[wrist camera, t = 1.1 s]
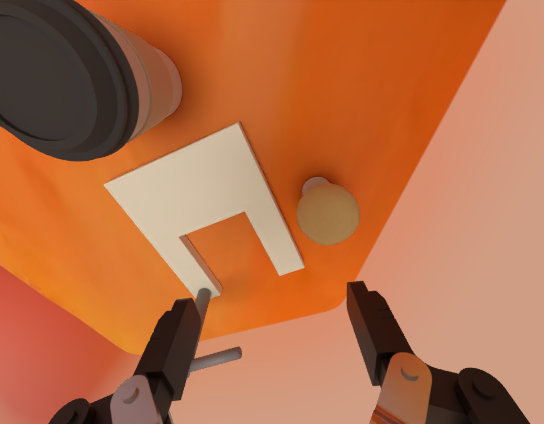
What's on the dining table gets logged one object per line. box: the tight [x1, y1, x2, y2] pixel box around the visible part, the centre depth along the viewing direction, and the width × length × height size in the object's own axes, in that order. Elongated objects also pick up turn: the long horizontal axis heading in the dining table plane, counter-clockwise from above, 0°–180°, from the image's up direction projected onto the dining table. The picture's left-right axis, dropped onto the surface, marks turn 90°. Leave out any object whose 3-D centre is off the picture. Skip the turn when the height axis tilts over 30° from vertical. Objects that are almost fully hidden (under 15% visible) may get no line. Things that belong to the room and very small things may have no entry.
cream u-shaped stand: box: [104, 121, 305, 378], centre depth 28 cm, size 18×22×14 cm
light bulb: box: [297, 177, 360, 245], centre depth 27 cm, size 6×6×10 cm
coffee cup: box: [0, 0, 182, 161], centre depth 19 cm, size 9×9×15 cm
